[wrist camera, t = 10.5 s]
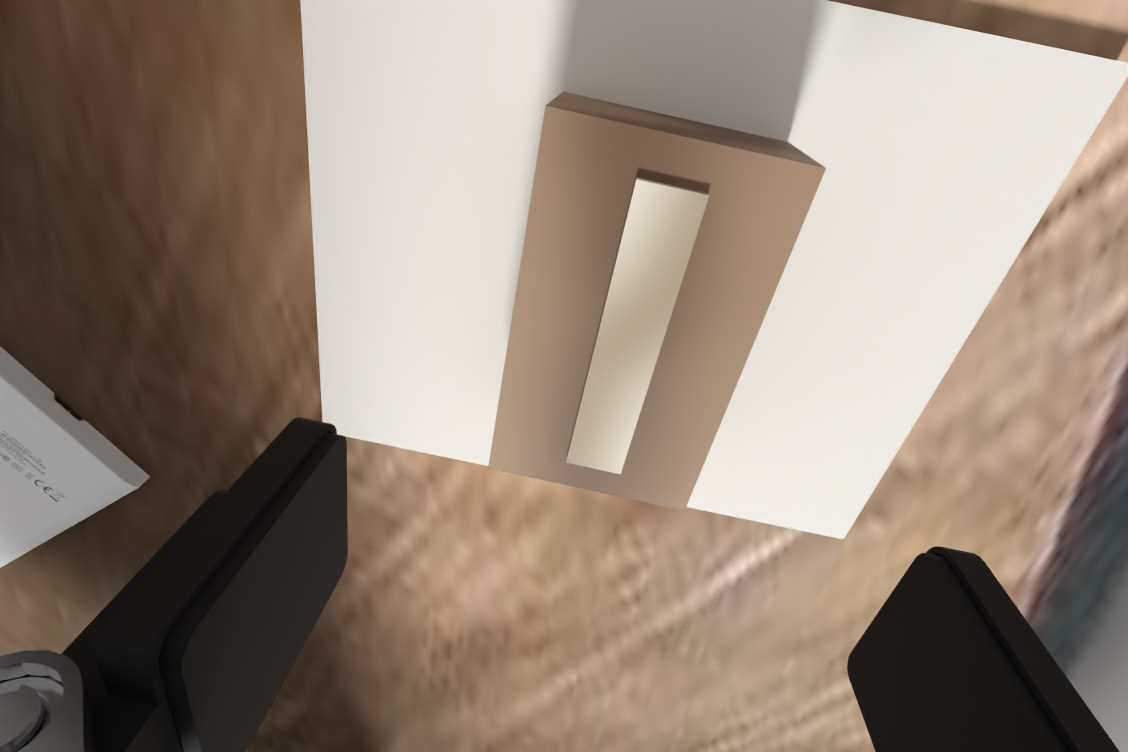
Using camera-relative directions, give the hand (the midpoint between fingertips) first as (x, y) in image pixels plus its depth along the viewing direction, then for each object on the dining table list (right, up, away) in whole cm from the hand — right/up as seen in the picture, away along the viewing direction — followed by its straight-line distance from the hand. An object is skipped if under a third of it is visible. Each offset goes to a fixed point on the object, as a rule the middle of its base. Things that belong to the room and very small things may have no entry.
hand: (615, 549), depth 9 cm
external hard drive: (-26, -1, +17) cm, 31 cm away
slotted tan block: (+1, +5, +8) cm, 10 cm away
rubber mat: (+1, +6, +9) cm, 10 cm away
